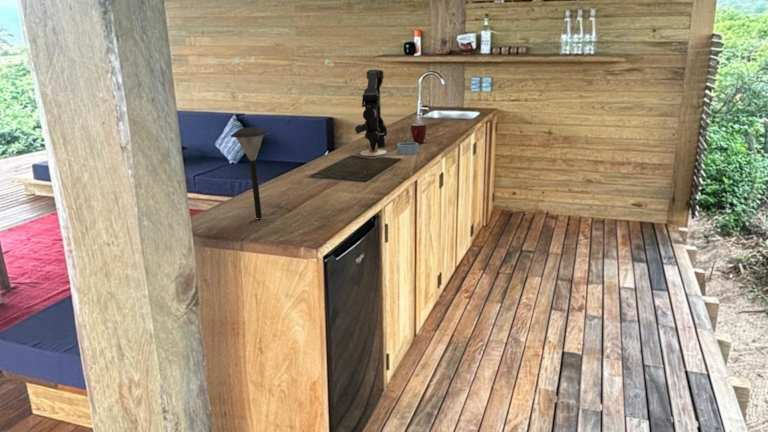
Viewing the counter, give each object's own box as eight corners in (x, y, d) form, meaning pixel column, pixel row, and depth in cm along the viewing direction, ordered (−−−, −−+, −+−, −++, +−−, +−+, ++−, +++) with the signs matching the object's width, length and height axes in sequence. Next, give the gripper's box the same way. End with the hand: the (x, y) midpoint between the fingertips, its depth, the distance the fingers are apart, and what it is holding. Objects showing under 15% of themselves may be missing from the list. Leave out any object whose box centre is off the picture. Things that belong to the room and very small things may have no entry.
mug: (424, 145, 316) (423, 126, 313) (409, 145, 318) (408, 126, 315) (427, 141, 325) (427, 123, 323) (413, 141, 327) (412, 123, 325)
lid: (355, 154, 296) (354, 144, 294) (374, 150, 304) (374, 140, 303) (372, 157, 287) (372, 147, 285) (392, 152, 295) (391, 143, 294)
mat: (350, 156, 296) (350, 154, 296) (374, 151, 306) (374, 149, 306) (372, 159, 285) (372, 158, 285) (396, 154, 295) (396, 153, 295)
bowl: (393, 154, 295) (392, 144, 294) (408, 151, 302) (408, 141, 300) (407, 156, 288) (407, 146, 286) (422, 153, 295) (422, 143, 293)
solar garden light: (278, 222, 194) (269, 130, 185) (239, 226, 192) (228, 133, 183) (277, 212, 205) (268, 124, 197) (240, 216, 203) (229, 127, 194)
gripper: (356, 116, 300) (358, 147, 304) (353, 121, 282) (355, 154, 286) (379, 115, 299) (380, 146, 304) (377, 120, 281) (378, 153, 286)
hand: (373, 149), depth 295 cm, fingers closed on lid, 4 cm apart
